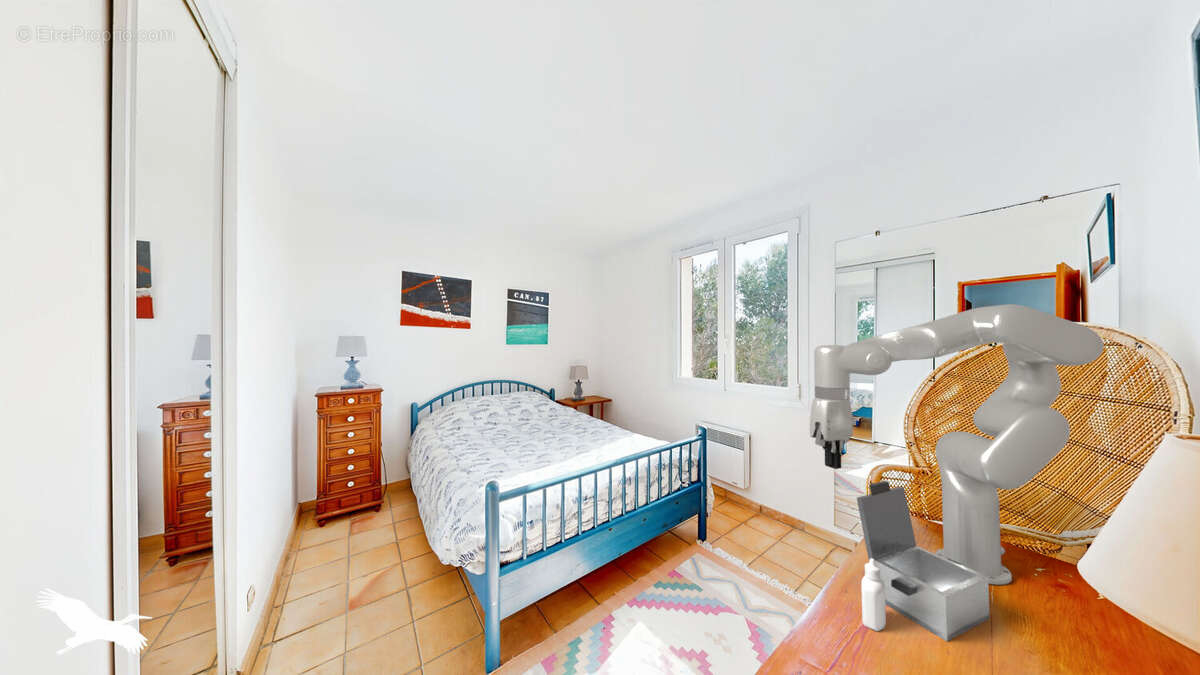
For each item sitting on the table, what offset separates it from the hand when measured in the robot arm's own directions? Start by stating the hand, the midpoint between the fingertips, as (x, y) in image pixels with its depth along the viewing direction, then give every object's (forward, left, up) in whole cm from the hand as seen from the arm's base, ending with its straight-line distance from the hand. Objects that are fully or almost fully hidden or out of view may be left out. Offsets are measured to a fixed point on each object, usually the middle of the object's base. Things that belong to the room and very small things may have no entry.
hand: (832, 466), depth 93 cm
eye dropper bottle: (+14, +18, -23) cm, 32 cm away
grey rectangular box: (0, +20, -22) cm, 30 cm away
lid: (0, +12, -8) cm, 14 cm away
